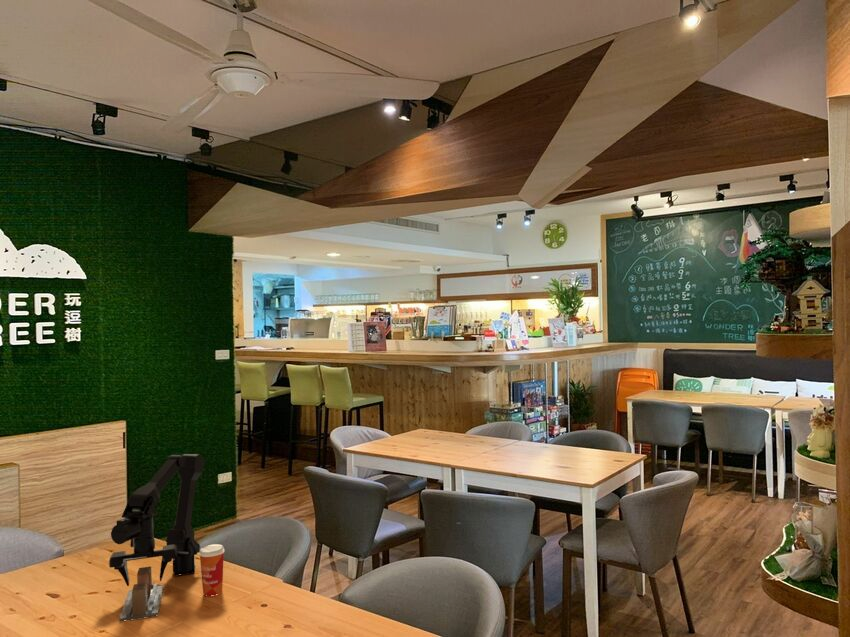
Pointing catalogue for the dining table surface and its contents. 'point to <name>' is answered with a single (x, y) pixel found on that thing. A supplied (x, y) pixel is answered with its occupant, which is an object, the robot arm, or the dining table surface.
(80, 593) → the dining table surface
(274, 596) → the dining table surface
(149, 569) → the tan wooden block
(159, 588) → the rail
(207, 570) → the paper cup
